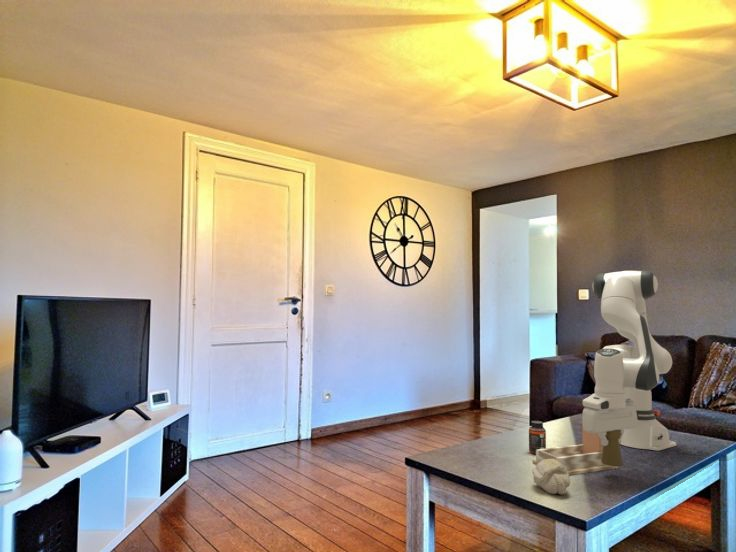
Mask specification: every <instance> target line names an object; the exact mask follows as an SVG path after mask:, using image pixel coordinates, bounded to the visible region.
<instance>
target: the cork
mask: <svg viewBox="0 0 736 552" xmlns="http://www.w3.org/2000/svg"><path fill="white" fill-rule="evenodd" d="M606 433H607V435H605V436H606V439H607V440H609V445H607V446H604V445H603V452H602V461H601V462H602V463H603V464H605V465H609V466H619V467H622V466H623V460H622V453H621V448H620V446H621V445H620V444H619V440H618V439H619V438H620V432H619V430H614V431H608V432H606Z"/></svg>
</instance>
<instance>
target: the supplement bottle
mask: <svg viewBox="0 0 736 552" xmlns="http://www.w3.org/2000/svg"><path fill="white" fill-rule="evenodd" d="M546 448H547V432H546V428H545V427H544V424H543V421H539V420H531V426H530V427H528V451H529V453H530V454H532V455H536V450H537V449H546Z"/></svg>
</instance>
